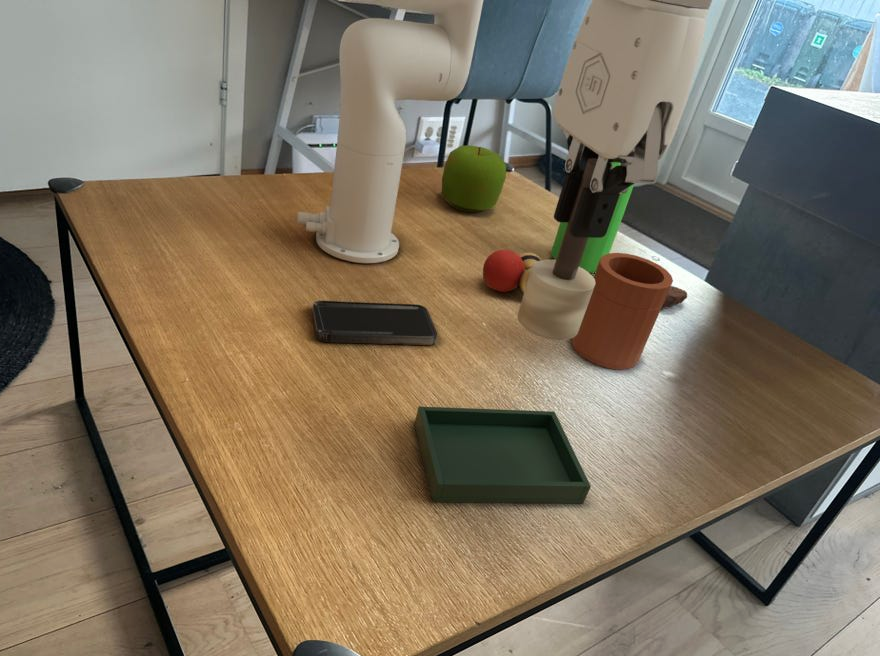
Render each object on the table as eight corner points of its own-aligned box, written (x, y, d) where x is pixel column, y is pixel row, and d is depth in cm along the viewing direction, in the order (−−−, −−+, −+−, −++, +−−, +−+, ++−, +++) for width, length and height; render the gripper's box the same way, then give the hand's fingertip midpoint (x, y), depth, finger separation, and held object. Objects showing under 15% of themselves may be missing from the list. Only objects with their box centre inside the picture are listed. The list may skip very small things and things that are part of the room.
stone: (632, 301, 106) (640, 283, 105) (644, 285, 112) (652, 268, 110) (675, 319, 104) (683, 300, 102) (685, 302, 110) (693, 284, 108)
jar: (585, 367, 89) (616, 285, 82) (562, 329, 96) (589, 250, 90) (649, 371, 91) (685, 290, 84) (622, 332, 98) (653, 255, 91)
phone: (312, 300, 89) (425, 304, 93) (311, 307, 90) (424, 311, 94) (318, 334, 83) (439, 338, 87) (317, 342, 84) (437, 345, 88)
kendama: (583, 292, 109) (474, 264, 105) (603, 261, 105) (491, 230, 101) (592, 326, 104) (478, 297, 100) (614, 294, 99) (495, 263, 96)
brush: (527, 338, 61) (579, 172, 53) (510, 305, 65) (555, 146, 57) (587, 342, 62) (647, 179, 54) (566, 308, 67) (618, 154, 58)
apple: (505, 219, 125) (521, 160, 119) (447, 216, 122) (461, 155, 116) (485, 194, 134) (498, 138, 128) (431, 191, 131) (442, 132, 125)
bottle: (603, 281, 111) (662, 122, 97) (549, 268, 111) (599, 108, 97) (601, 258, 118) (656, 107, 104) (550, 246, 119) (597, 94, 104)
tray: (433, 502, 66) (437, 484, 64) (414, 423, 75) (418, 406, 73) (583, 503, 69) (591, 486, 67) (548, 427, 78) (554, 411, 76)
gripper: (557, -44, 53) (499, 189, 63) (684, -3, 41) (587, 275, 51) (640, -30, 55) (571, 191, 66) (783, 12, 43) (671, 275, 54)
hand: (578, 226), depth 58 cm, fingers closed on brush
